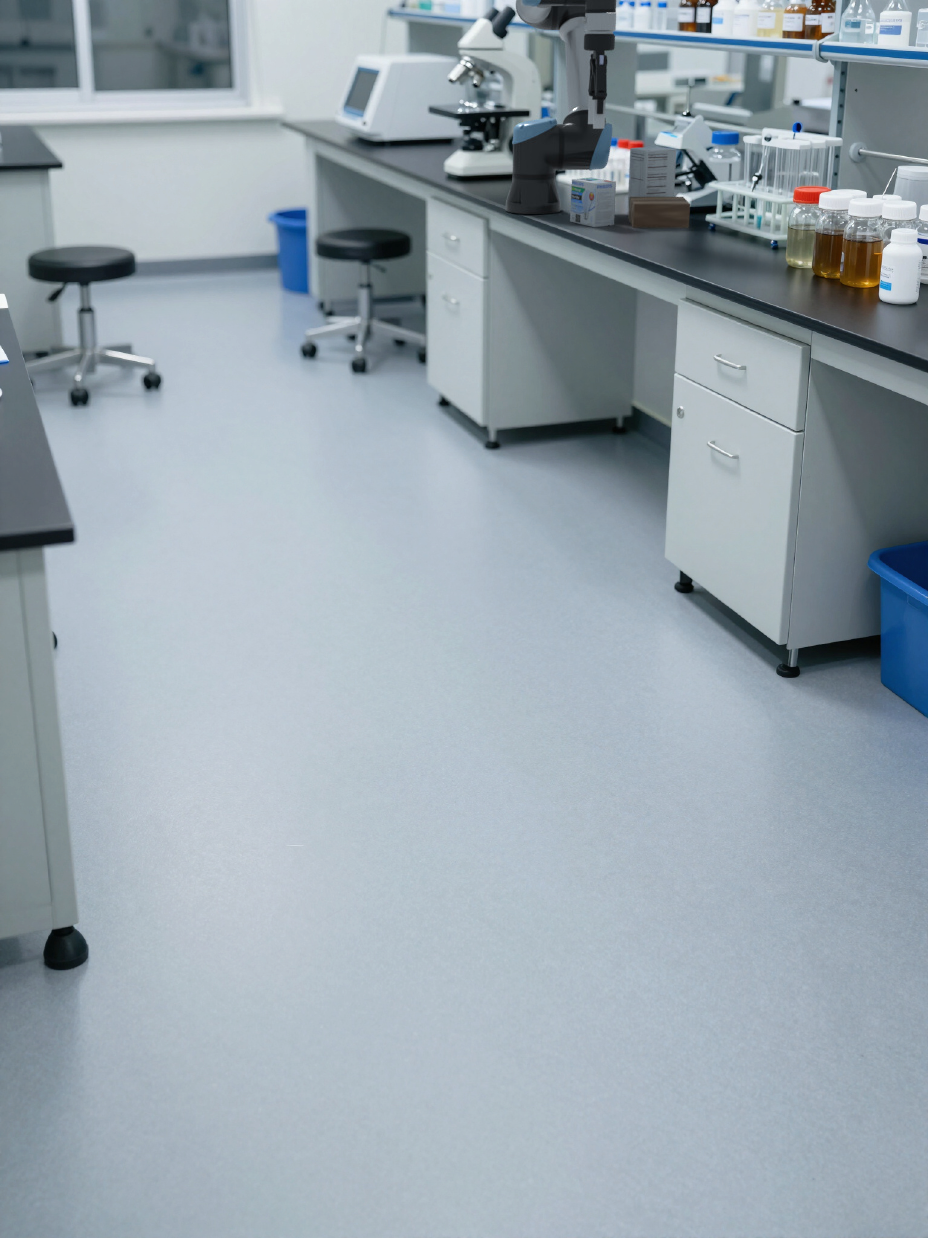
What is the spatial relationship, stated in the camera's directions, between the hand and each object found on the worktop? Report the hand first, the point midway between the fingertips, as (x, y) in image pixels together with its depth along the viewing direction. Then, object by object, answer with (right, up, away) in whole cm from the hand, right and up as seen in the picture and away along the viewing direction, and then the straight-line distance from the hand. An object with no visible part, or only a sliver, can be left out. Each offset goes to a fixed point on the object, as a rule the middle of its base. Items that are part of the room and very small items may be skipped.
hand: (596, 126), depth 317 cm
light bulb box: (0, -21, +10) cm, 24 cm away
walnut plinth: (+17, -21, +11) cm, 29 cm away
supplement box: (+17, -15, +24) cm, 33 cm away
